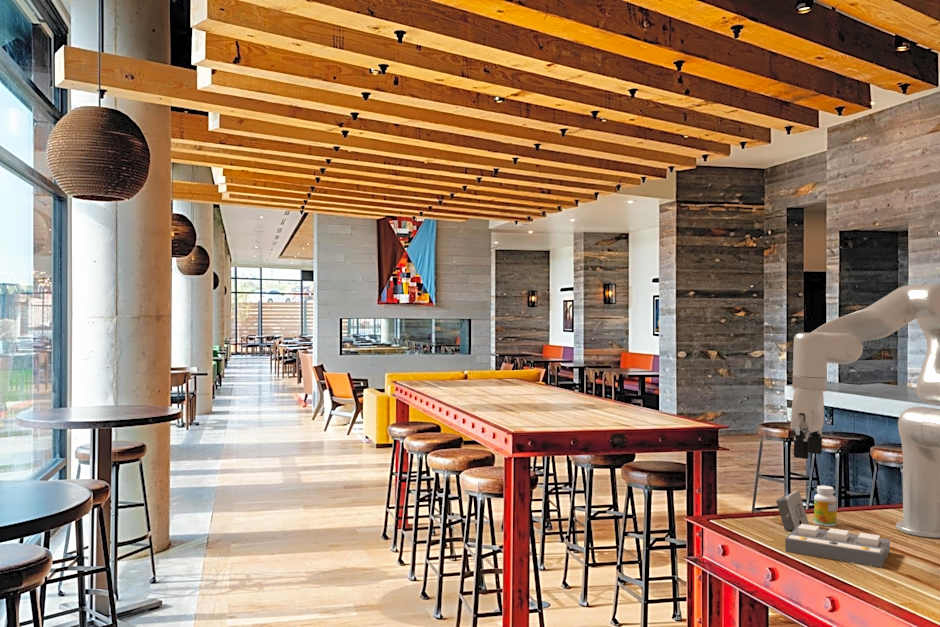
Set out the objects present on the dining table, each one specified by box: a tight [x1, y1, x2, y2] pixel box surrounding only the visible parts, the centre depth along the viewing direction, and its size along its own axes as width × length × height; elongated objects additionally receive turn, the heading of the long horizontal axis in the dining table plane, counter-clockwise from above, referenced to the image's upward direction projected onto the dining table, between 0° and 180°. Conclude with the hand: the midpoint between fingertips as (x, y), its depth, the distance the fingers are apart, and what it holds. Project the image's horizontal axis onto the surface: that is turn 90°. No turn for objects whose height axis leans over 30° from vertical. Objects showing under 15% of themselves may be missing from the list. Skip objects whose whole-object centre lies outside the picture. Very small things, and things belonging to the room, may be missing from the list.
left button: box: [798, 524, 820, 537], centre depth 181 cm, size 4×4×2 cm
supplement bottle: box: [813, 485, 838, 527], centre depth 199 cm, size 5×5×10 cm
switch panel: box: [784, 526, 891, 568], centre depth 176 cm, size 13×20×3 cm, turn 54°
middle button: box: [827, 527, 850, 542], centre depth 177 cm, size 4×4×2 cm
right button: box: [858, 532, 881, 547], centre depth 173 cm, size 4×4×2 cm
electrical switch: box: [775, 490, 810, 531], centre depth 196 cm, size 9×5×9 cm, turn 141°
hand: (807, 455), depth 181 cm, fingers open, 9 cm apart
